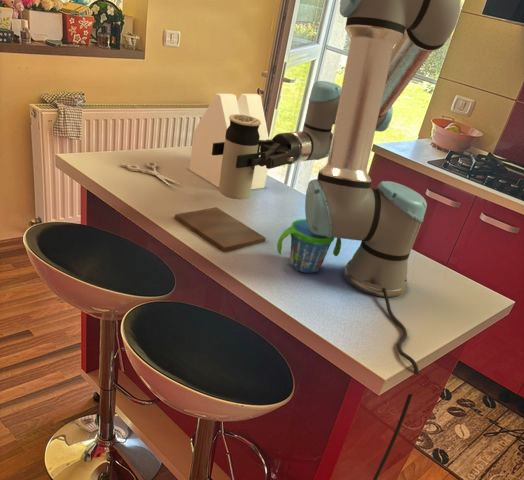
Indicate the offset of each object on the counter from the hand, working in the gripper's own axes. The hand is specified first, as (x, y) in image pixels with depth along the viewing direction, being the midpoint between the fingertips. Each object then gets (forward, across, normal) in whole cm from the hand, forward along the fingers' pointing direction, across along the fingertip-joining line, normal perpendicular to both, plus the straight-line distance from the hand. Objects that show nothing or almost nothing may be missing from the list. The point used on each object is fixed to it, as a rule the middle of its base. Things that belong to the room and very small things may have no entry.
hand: (225, 155), depth 127 cm
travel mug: (-5, 0, -10) cm, 11 cm away
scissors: (-9, +38, -20) cm, 44 cm away
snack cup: (-9, -23, -20) cm, 32 cm away
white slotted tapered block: (-31, +29, -20) cm, 47 cm away
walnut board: (-3, +1, -20) cm, 20 cm away
